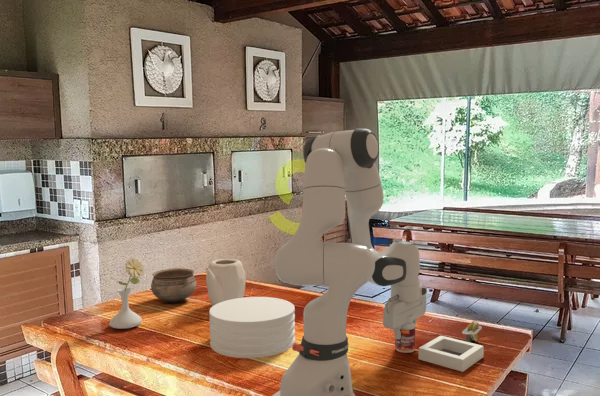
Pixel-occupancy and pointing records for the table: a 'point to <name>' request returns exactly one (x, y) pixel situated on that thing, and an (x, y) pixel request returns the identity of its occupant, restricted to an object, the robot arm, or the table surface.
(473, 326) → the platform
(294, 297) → the table surface
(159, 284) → the cooking pot
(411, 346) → the pill bottle
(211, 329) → the plate stack
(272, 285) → the table surface
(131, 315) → the flower in vase
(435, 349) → the holder block
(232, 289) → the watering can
